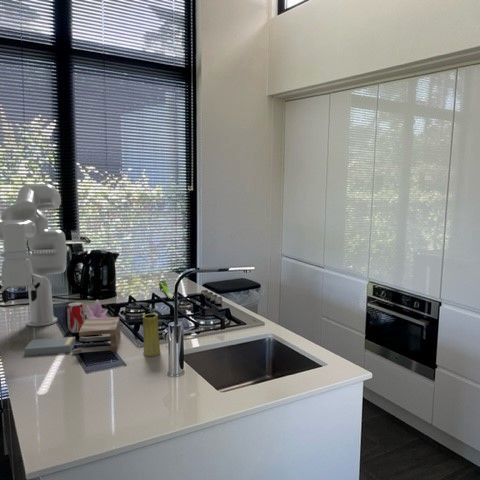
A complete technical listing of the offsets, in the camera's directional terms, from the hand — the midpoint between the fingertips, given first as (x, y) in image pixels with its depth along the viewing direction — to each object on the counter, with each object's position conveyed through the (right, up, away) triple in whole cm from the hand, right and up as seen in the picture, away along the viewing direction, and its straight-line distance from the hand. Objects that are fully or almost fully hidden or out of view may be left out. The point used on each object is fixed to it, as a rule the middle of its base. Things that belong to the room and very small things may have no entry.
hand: (20, 301), depth 168 cm
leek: (+42, -8, +85) cm, 95 cm away
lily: (+18, -15, +35) cm, 42 cm away
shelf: (+27, -18, +7) cm, 33 cm away
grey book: (+10, -19, +4) cm, 22 cm away
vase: (+49, -19, -2) cm, 53 cm away
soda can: (+12, -16, +25) cm, 32 cm away
